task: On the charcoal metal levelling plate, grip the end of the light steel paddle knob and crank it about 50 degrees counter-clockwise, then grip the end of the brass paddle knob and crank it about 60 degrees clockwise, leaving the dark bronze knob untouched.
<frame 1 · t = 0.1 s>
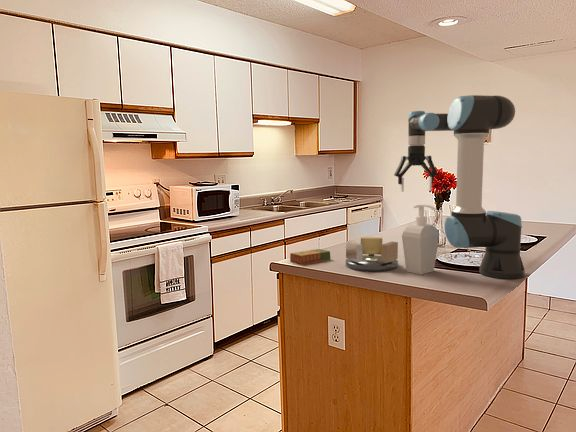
hand: (415, 191, 209), 28 cm above the table, fingers open, 13 cm apart
knob a: (371, 246, 190), point 6 cm above the table, hinge at 0.0°
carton: (310, 261, 194), on the table
knob b: (389, 253, 177), point 6 cm above the table, hinge at 0.0°
level plate: (371, 265, 183), on the table
soap bottle: (421, 271, 172), on the table
knob c: (354, 252, 179), point 6 cm above the table, hinge at 0.0°
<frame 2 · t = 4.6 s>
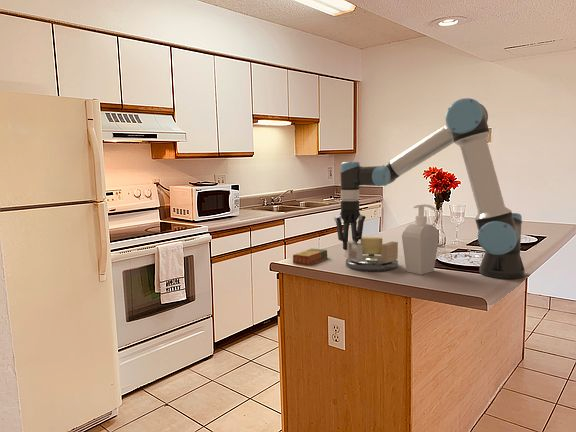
hand: (350, 257, 183), 4 cm above the table, fingers closed on knob c, 2 cm apart
knob c: (354, 252, 179), point 6 cm above the table, hinge at 0.0°, touching gripper
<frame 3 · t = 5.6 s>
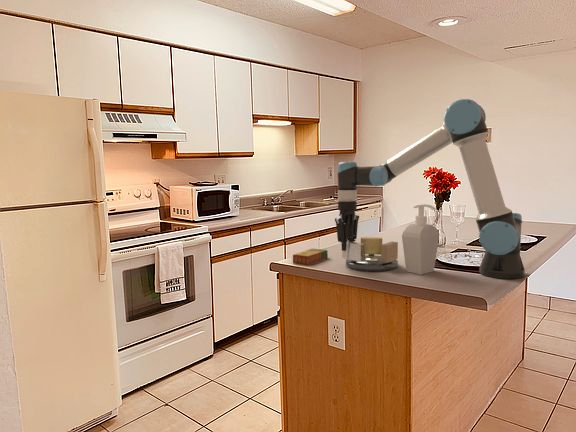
hand: (347, 257, 182), 3 cm above the table, fingers closed on knob c, 2 cm apart
knob c: (354, 252, 179), point 6 cm above the table, hinge at 20.9°, touching gripper
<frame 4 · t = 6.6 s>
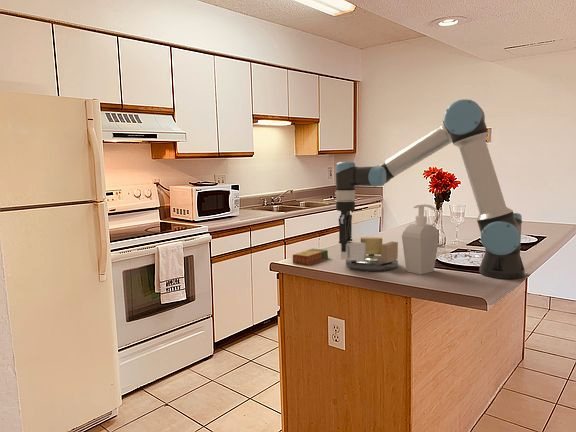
hand: (345, 258, 181), 4 cm above the table, fingers open, 4 cm apart
knob c: (354, 252, 179), point 6 cm above the table, hinge at 44.5°
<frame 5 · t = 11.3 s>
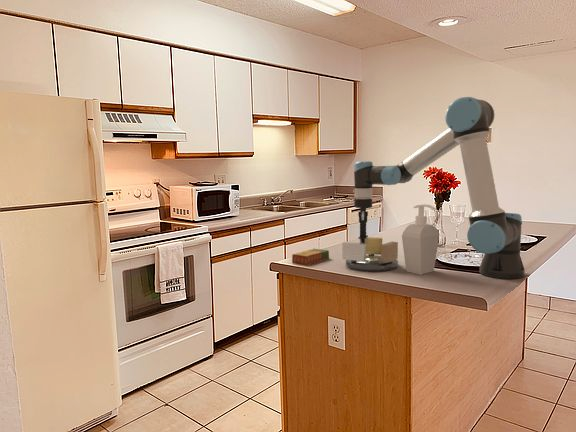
hand: (363, 252, 191), 4 cm above the table, fingers closed on knob a, 2 cm apart
knob a: (371, 246, 190), point 6 cm above the table, hinge at -0.7°, touching gripper
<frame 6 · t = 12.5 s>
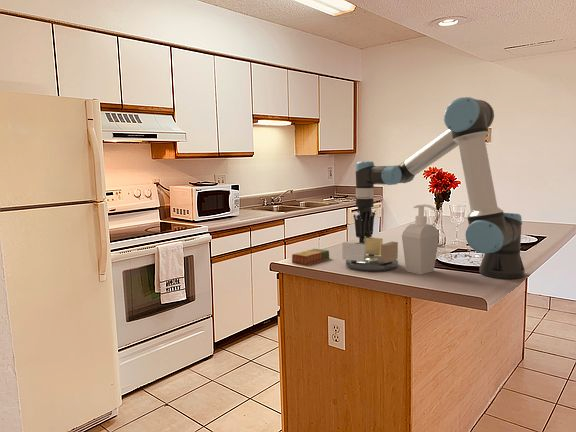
hand: (364, 252, 192), 3 cm above the table, fingers closed on knob a, 2 cm apart
knob a: (371, 246, 190), point 6 cm above the table, hinge at -27.7°, touching gripper
everything else where it was.
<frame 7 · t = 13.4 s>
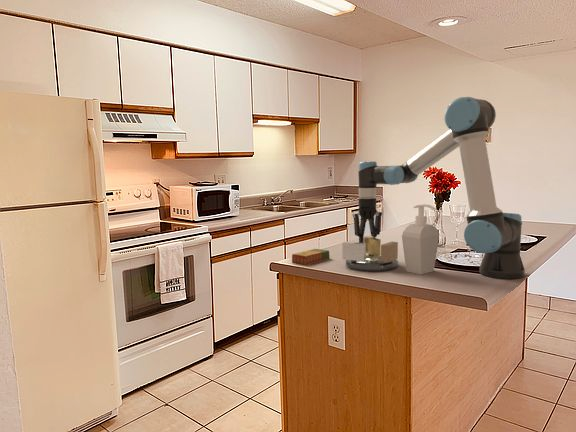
hand: (367, 251, 193), 4 cm above the table, fingers open, 4 cm apart
knob a: (371, 246, 190), point 6 cm above the table, hinge at -53.7°
everything else where it was.
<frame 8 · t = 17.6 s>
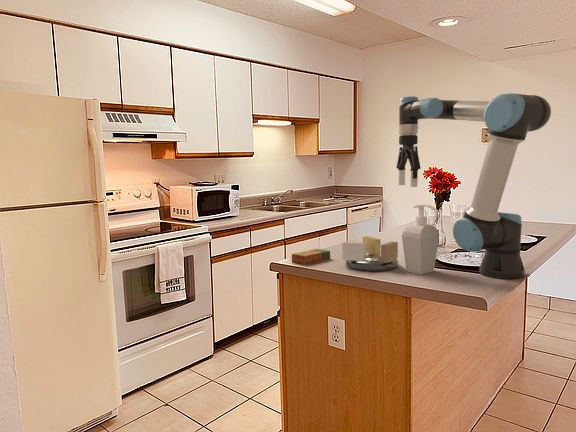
hand: (407, 186, 189), 32 cm above the table, fingers open, 13 cm apart
nothing on the table moved.
at the end: knob a at -54° (first picture: +0°); knob c at +44° (first picture: +0°); knob b at +0° (first picture: +0°) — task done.
